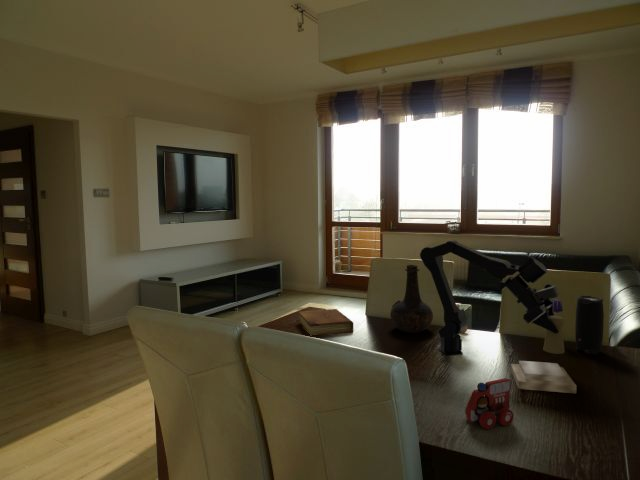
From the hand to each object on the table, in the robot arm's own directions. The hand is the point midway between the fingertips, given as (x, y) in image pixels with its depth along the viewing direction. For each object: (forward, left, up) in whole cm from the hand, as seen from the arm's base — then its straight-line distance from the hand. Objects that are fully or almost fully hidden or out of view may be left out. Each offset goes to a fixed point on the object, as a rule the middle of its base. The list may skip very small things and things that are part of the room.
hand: (559, 330), depth 142 cm
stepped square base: (-10, -5, -13) cm, 17 cm away
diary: (-62, +69, -14) cm, 93 cm away
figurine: (-9, +48, -13) cm, 50 cm away
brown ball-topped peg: (-1, +1, -7) cm, 7 cm away
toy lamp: (+19, +27, -13) cm, 35 cm away
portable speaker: (+24, +16, -13) cm, 32 cm away
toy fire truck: (-39, -25, -14) cm, 48 cm away
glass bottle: (-27, +56, -13) cm, 63 cm away
